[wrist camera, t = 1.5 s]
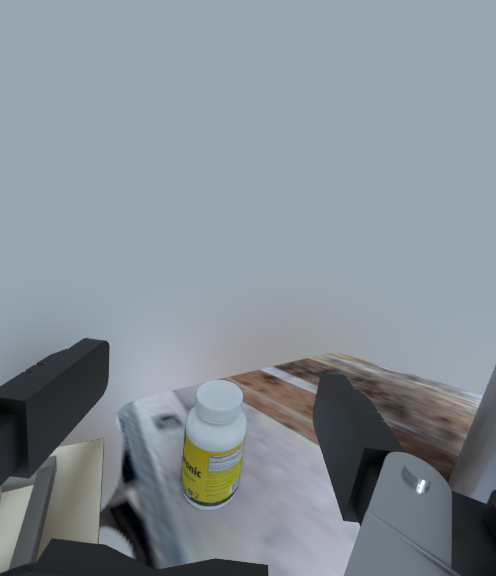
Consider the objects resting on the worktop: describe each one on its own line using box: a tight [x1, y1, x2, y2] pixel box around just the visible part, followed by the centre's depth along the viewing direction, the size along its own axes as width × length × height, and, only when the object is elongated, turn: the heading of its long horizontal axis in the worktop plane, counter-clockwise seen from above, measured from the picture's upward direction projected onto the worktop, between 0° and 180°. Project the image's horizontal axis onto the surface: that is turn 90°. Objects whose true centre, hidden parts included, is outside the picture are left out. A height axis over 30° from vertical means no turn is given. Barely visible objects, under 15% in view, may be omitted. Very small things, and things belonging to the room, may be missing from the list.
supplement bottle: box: [181, 380, 247, 510], centre depth 24 cm, size 5×5×10 cm
